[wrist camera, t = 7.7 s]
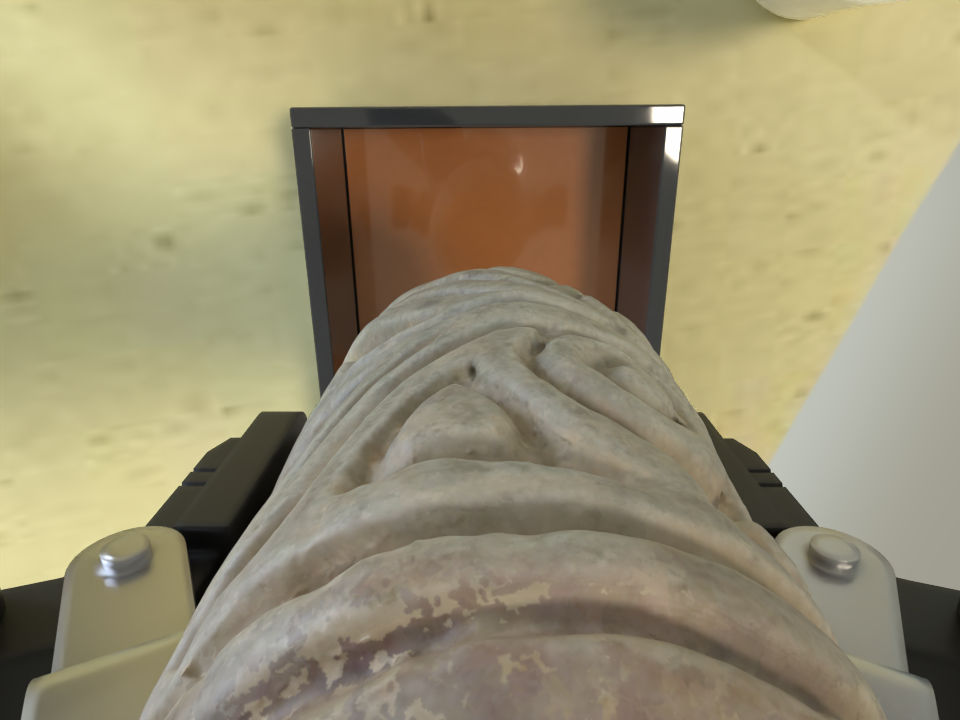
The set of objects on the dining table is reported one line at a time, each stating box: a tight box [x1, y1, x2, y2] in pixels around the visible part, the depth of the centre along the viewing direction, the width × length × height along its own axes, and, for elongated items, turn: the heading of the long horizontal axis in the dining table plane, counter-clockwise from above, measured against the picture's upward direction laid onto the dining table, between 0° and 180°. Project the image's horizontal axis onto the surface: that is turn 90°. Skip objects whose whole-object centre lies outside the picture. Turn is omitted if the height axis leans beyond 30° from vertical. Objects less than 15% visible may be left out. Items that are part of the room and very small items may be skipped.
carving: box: [139, 267, 887, 720], centre depth 9 cm, size 6×8×12 cm
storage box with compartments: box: [290, 104, 685, 397], centre depth 26 cm, size 24×12×6 cm, turn 0°
